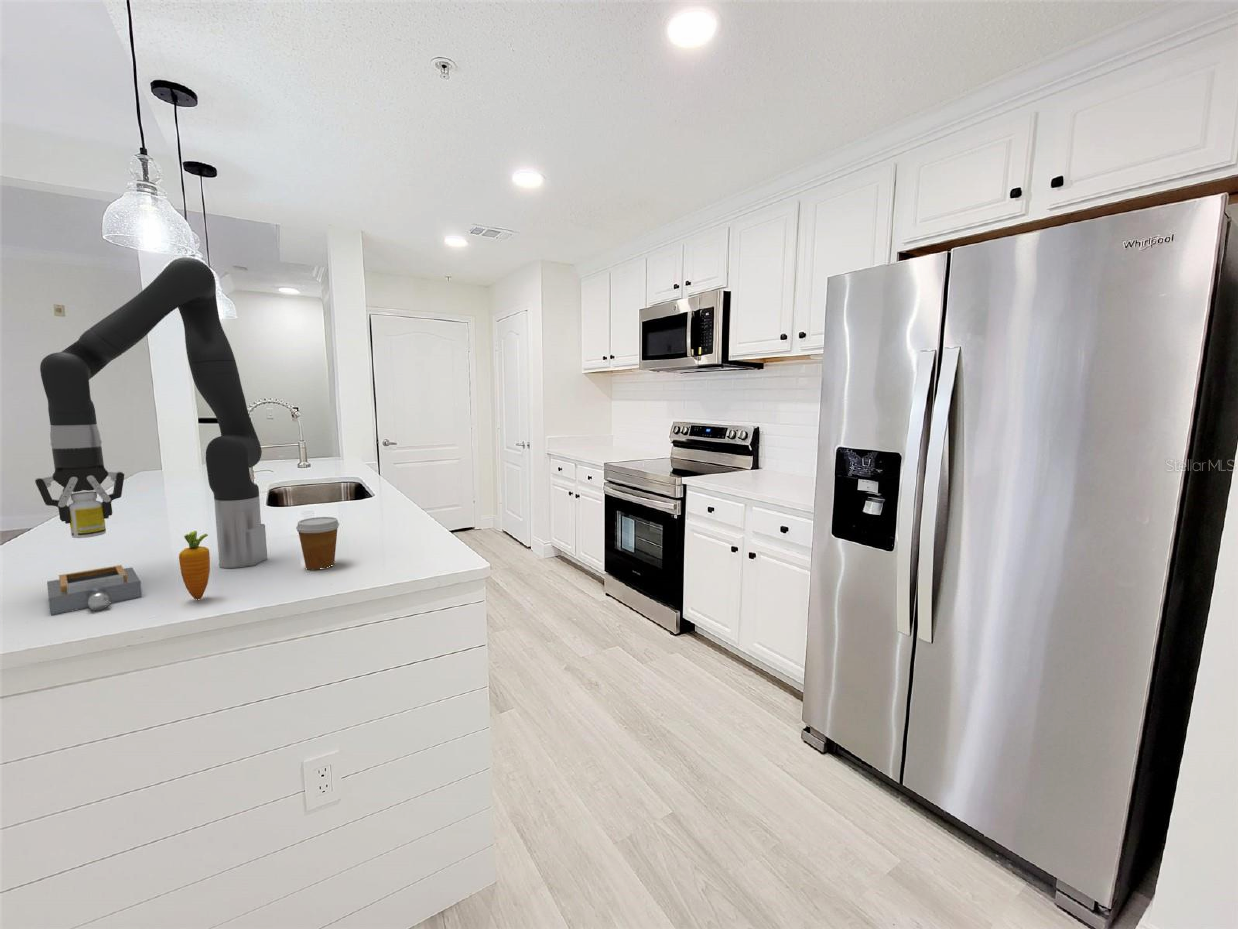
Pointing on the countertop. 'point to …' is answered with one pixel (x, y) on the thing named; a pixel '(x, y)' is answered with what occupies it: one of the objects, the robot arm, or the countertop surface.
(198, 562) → the carrot
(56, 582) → the grey drawer
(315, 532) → the disposable coffee cup
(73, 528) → the supplement bottle
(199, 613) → the countertop surface
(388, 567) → the countertop surface
